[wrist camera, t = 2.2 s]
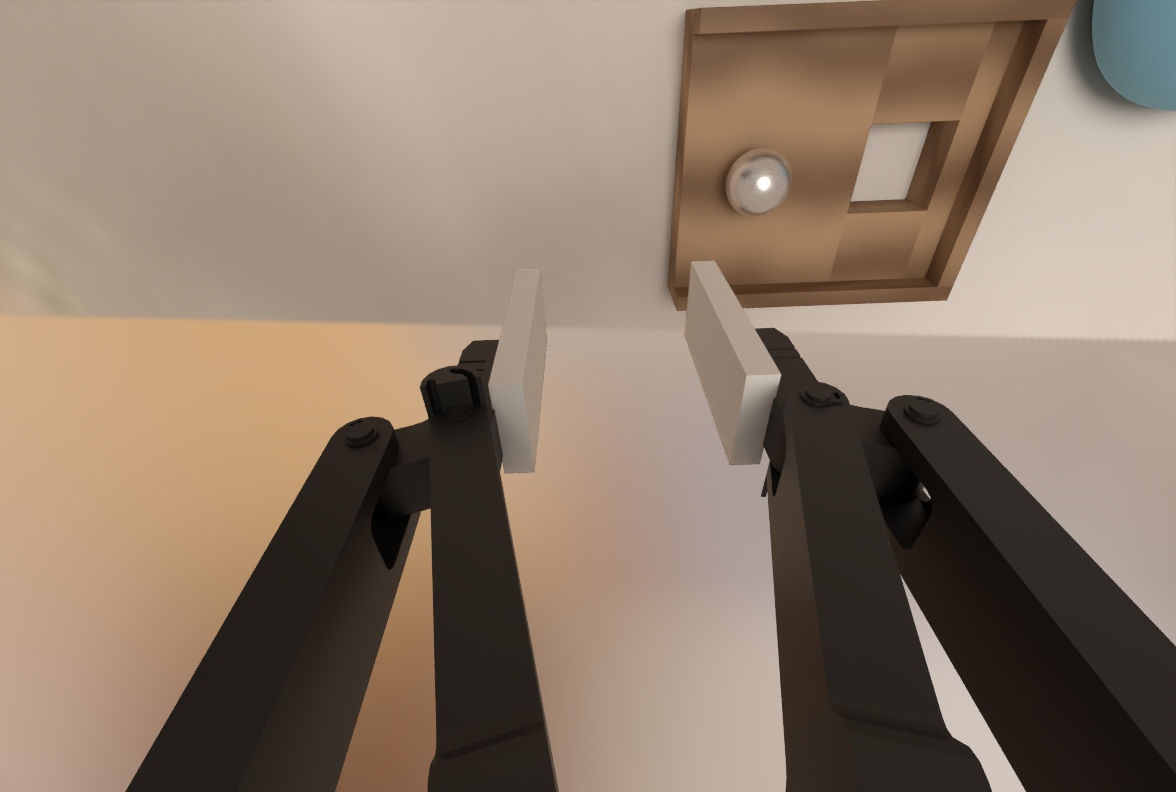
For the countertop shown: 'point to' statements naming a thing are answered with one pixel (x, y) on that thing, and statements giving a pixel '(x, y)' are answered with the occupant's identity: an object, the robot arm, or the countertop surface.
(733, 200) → the ball
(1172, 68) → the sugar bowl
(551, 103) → the countertop surface
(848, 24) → the tray
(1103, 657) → the robot arm
